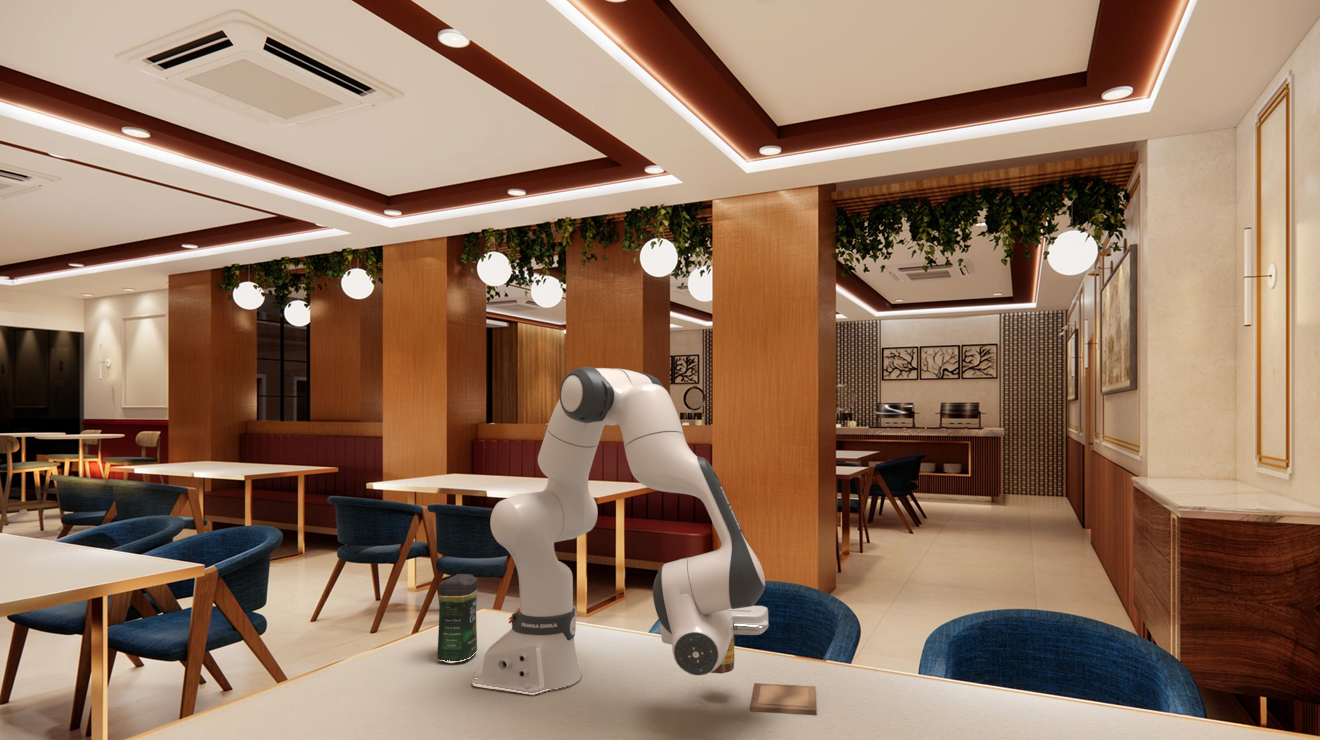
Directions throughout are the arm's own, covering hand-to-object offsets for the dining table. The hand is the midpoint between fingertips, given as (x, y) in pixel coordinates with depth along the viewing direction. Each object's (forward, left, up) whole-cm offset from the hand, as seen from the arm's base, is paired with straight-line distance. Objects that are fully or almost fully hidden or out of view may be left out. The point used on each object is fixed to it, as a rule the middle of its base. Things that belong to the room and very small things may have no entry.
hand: (717, 607), depth 143 cm
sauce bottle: (0, 0, -12) cm, 12 cm away
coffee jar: (-62, +14, -17) cm, 65 cm away
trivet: (+12, 0, -17) cm, 21 cm away
